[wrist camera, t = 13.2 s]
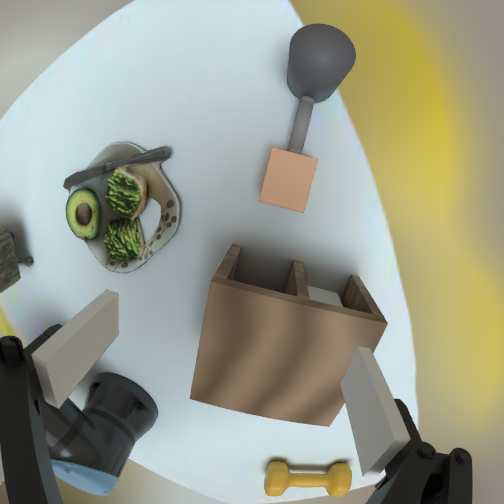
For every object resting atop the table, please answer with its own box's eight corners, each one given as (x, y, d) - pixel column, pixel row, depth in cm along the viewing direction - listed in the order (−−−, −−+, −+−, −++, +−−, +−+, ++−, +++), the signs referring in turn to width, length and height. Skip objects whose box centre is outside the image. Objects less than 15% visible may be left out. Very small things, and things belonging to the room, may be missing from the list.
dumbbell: (352, 457, 51) (357, 485, 43) (339, 475, 53) (342, 501, 45) (269, 454, 51) (267, 484, 44) (263, 472, 54) (260, 499, 46)
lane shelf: (211, 342, 43) (189, 398, 31) (232, 244, 38) (210, 281, 26) (320, 367, 43) (329, 426, 31) (359, 276, 38) (387, 323, 26)
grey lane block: (290, 321, 41) (291, 340, 36) (303, 284, 39) (305, 300, 34) (323, 328, 41) (327, 348, 36) (337, 292, 39) (344, 309, 34)
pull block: (257, 195, 36) (248, 208, 26) (292, 55, 30) (296, 17, 20) (304, 207, 36) (314, 225, 26) (339, 67, 30) (360, 34, 20)
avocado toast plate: (142, 106, 34) (126, 100, 30) (216, 208, 38) (208, 215, 33) (60, 192, 39) (42, 196, 34) (120, 282, 42) (106, 294, 38)
